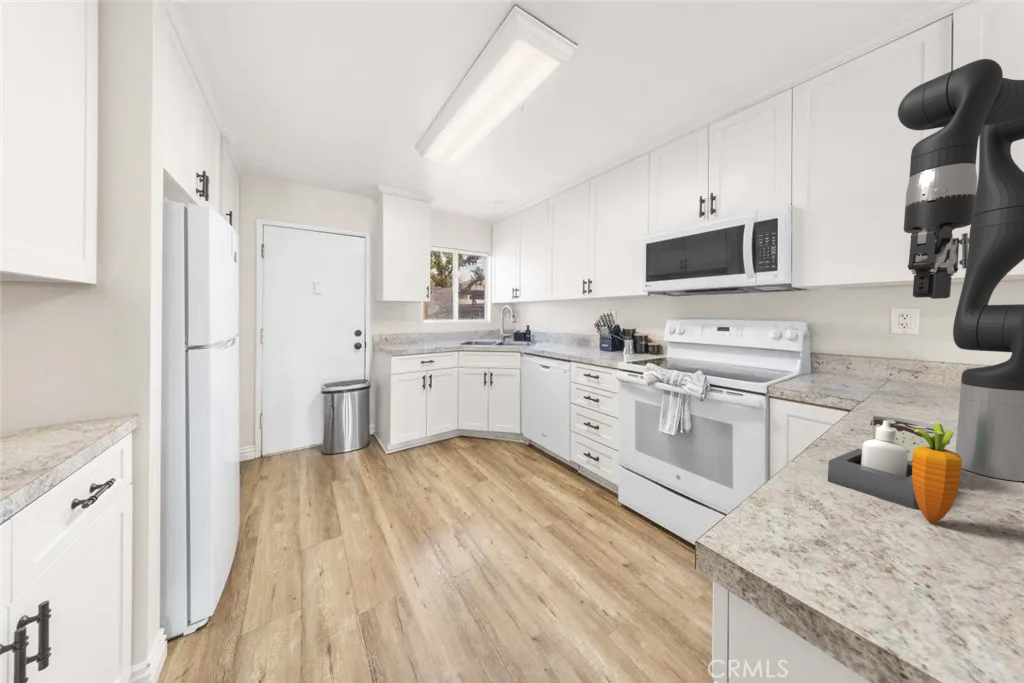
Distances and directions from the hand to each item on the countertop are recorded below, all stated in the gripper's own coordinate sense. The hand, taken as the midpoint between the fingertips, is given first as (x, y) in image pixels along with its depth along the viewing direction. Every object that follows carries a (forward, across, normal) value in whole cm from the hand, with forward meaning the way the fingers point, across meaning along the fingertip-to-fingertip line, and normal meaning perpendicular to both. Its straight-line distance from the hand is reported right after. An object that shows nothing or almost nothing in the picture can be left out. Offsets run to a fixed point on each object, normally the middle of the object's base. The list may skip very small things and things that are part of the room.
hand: (931, 297), depth 60 cm
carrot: (+34, +12, +4) cm, 36 cm away
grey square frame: (+34, +2, -4) cm, 34 cm away
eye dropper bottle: (+34, +2, -4) cm, 35 cm away
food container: (+34, -11, -3) cm, 36 cm away
